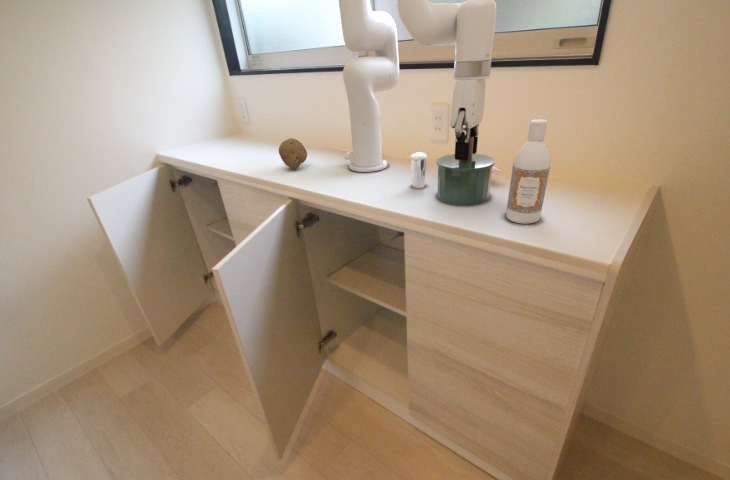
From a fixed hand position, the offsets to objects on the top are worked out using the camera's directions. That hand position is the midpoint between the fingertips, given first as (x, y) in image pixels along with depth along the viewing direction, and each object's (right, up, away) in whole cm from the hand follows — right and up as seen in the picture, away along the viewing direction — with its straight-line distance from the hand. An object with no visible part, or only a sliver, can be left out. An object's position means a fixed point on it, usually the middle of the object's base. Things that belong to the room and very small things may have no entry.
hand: (465, 155), depth 87 cm
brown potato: (-48, +7, +37) cm, 61 cm away
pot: (+1, -9, +5) cm, 10 cm away
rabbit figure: (+7, -1, +17) cm, 18 cm away
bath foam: (+10, -16, -8) cm, 21 cm away
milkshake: (-10, -4, +14) cm, 18 cm away
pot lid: (0, -2, +1) cm, 2 cm away
